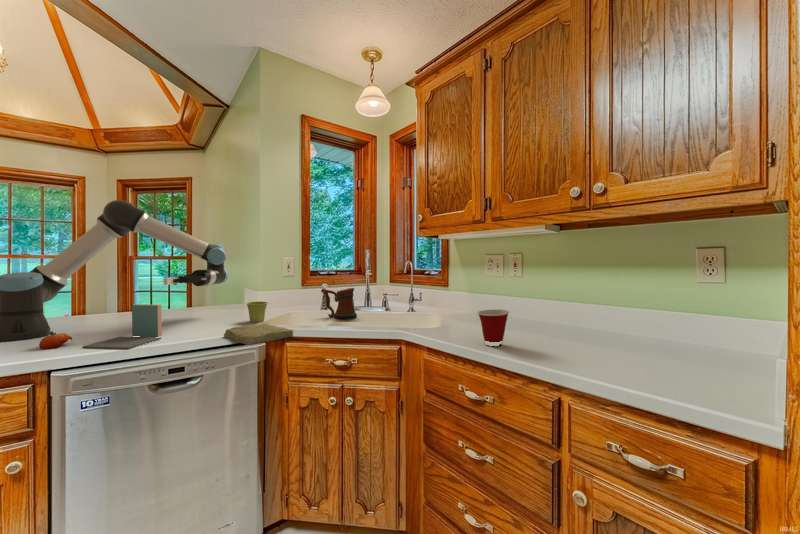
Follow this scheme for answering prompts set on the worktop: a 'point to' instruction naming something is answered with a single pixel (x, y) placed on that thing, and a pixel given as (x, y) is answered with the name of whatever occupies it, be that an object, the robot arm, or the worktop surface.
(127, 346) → the charcoal mat
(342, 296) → the mug
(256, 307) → the plant pot
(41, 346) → the sweet potato
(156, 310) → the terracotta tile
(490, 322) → the plastic cup
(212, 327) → the worktop surface
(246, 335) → the folded olive cloth
